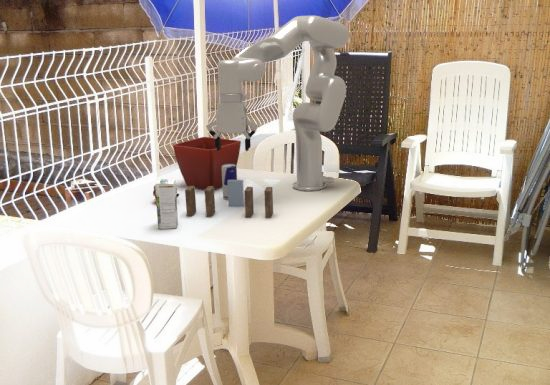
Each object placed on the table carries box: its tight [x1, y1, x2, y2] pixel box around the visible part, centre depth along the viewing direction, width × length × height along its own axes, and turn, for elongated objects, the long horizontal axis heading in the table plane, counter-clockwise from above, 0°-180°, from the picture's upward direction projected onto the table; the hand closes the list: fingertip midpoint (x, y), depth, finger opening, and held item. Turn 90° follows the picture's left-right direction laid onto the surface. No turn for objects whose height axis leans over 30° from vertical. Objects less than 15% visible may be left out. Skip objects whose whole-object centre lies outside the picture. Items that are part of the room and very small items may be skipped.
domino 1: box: [184, 186, 197, 218], centre depth 194 cm, size 2×5×9 cm, turn 172°
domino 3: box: [227, 179, 245, 208], centre depth 201 cm, size 2×5×9 cm, turn 82°
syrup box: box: [154, 178, 179, 230], centre depth 182 cm, size 6×6×14 cm
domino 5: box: [264, 186, 274, 219], centre depth 190 cm, size 2×5×9 cm, turn 172°
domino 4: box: [243, 186, 255, 219], centre depth 191 cm, size 2×5×9 cm, turn 172°
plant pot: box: [172, 136, 242, 191], centre depth 227 cm, size 19×19×17 cm
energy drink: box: [222, 164, 238, 201], centre depth 210 cm, size 5×5×12 cm
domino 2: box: [204, 186, 216, 218], centre depth 193 cm, size 2×5×9 cm, turn 172°
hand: (233, 150), depth 197 cm, fingers open, 9 cm apart
